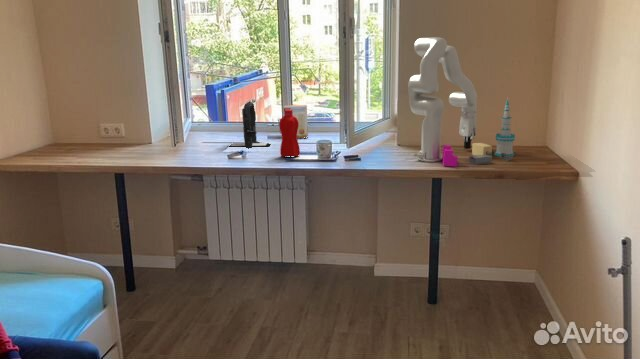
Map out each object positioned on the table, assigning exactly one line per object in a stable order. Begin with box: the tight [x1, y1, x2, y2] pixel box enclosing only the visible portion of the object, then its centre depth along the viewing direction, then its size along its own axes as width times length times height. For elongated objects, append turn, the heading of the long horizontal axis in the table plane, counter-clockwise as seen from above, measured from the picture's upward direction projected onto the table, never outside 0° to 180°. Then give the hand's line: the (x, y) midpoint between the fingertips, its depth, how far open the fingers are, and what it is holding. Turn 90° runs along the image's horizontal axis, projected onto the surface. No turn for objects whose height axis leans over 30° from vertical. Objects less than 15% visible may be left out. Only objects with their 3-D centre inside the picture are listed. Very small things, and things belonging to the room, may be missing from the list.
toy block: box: [441, 144, 459, 168], centre depth 263 cm, size 15×6×8 cm, turn 170°
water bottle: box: [278, 110, 301, 158], centre depth 286 cm, size 9×11×25 cm
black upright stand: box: [228, 98, 272, 153], centre depth 315 cm, size 32×25×28 cm
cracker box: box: [283, 104, 309, 138], centre depth 339 cm, size 14×6×21 cm, turn 82°
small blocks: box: [468, 153, 512, 166], centre depth 265 cm, size 20×6×3 cm, turn 107°
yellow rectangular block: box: [471, 142, 493, 158], centre depth 277 cm, size 5×12×6 cm, turn 17°
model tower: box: [493, 97, 516, 157], centre depth 276 cm, size 10×10×30 cm
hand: (467, 148), depth 291 cm, fingers closed
